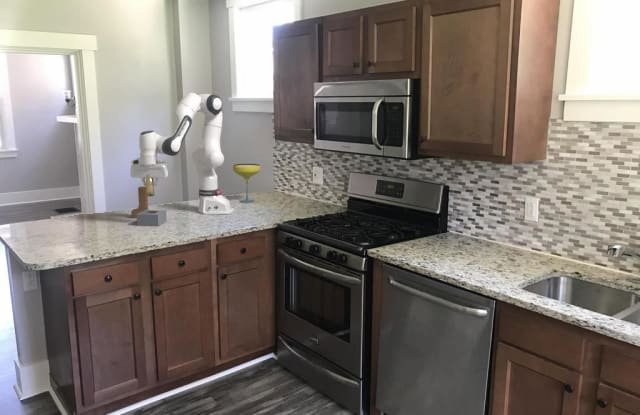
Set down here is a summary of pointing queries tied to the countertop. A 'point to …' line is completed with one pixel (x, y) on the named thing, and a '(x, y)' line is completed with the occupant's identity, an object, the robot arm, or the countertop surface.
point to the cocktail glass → (246, 175)
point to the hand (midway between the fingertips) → (150, 185)
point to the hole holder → (151, 218)
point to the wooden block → (141, 202)
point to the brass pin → (149, 186)
